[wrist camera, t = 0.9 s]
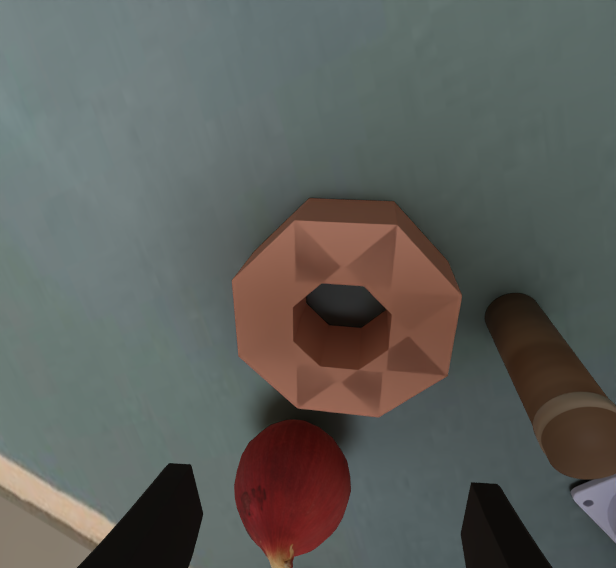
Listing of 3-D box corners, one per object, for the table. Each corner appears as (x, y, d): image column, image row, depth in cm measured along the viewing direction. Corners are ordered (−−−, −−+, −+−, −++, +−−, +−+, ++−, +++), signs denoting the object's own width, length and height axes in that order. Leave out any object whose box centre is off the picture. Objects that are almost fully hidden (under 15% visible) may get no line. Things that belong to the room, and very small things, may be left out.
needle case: (552, 318, 19) (658, 457, 12) (504, 347, 20) (574, 491, 13) (520, 282, 18) (611, 403, 11) (472, 313, 19) (527, 443, 12)
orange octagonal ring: (483, 300, 19) (504, 342, 16) (342, 394, 23) (336, 442, 19) (352, 155, 17) (347, 170, 14) (221, 282, 21) (193, 316, 18)
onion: (268, 463, 26) (226, 605, 19) (246, 391, 24) (189, 521, 16) (359, 462, 25) (352, 614, 18) (346, 386, 22) (331, 525, 15)
